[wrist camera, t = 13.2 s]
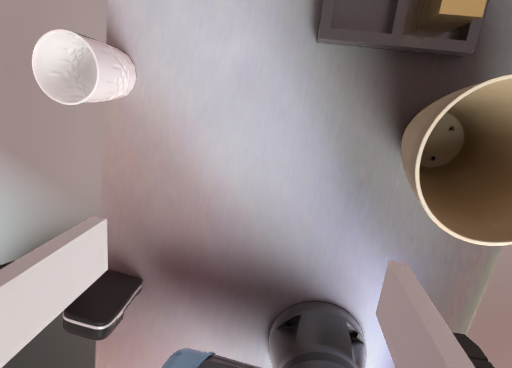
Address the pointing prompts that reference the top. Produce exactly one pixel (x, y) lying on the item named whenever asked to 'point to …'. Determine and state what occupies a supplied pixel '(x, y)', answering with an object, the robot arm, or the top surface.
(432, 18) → the brass block
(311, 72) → the top surface
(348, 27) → the divided tray
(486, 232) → the plant pot
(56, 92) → the white cup
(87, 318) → the battery charger
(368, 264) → the top surface
